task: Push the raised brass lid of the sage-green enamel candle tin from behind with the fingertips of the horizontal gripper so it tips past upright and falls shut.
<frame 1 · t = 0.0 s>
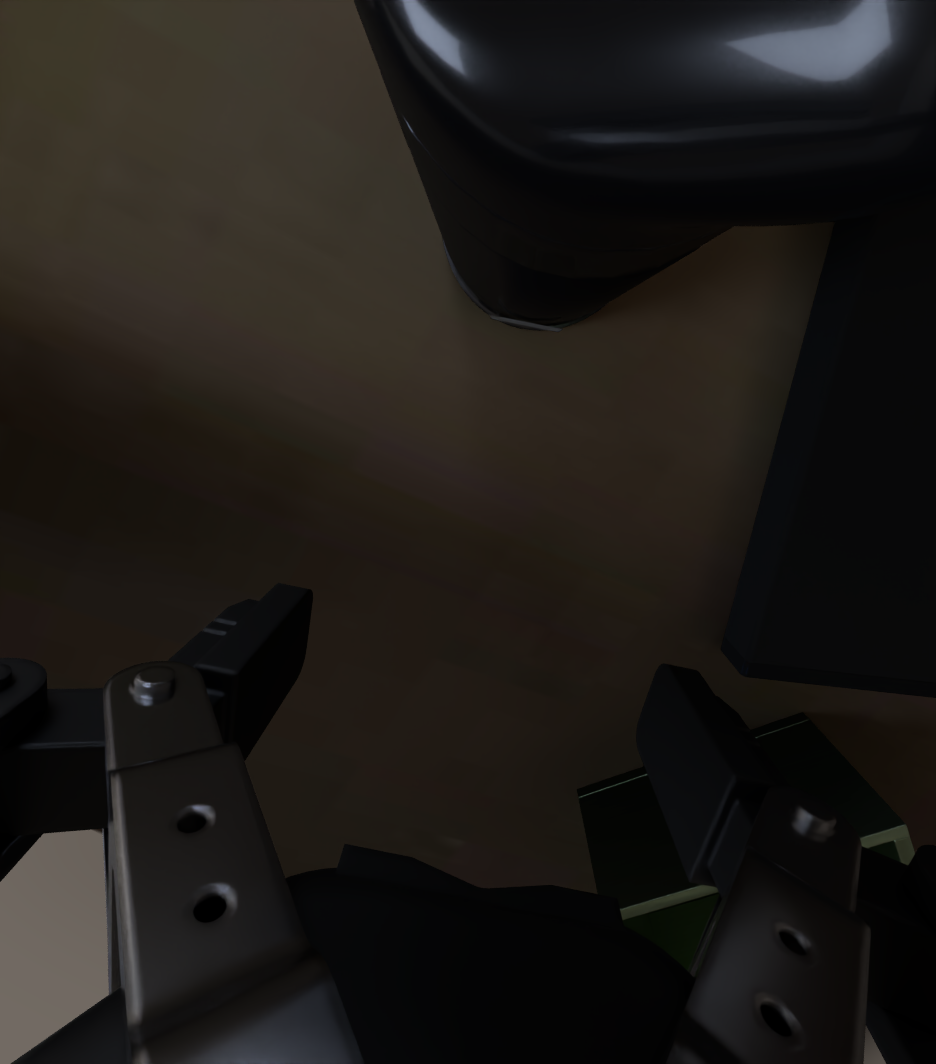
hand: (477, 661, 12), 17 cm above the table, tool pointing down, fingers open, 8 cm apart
external hard drive: (908, 462, 27), on the table
candle tin: (714, 820, 34), on the table
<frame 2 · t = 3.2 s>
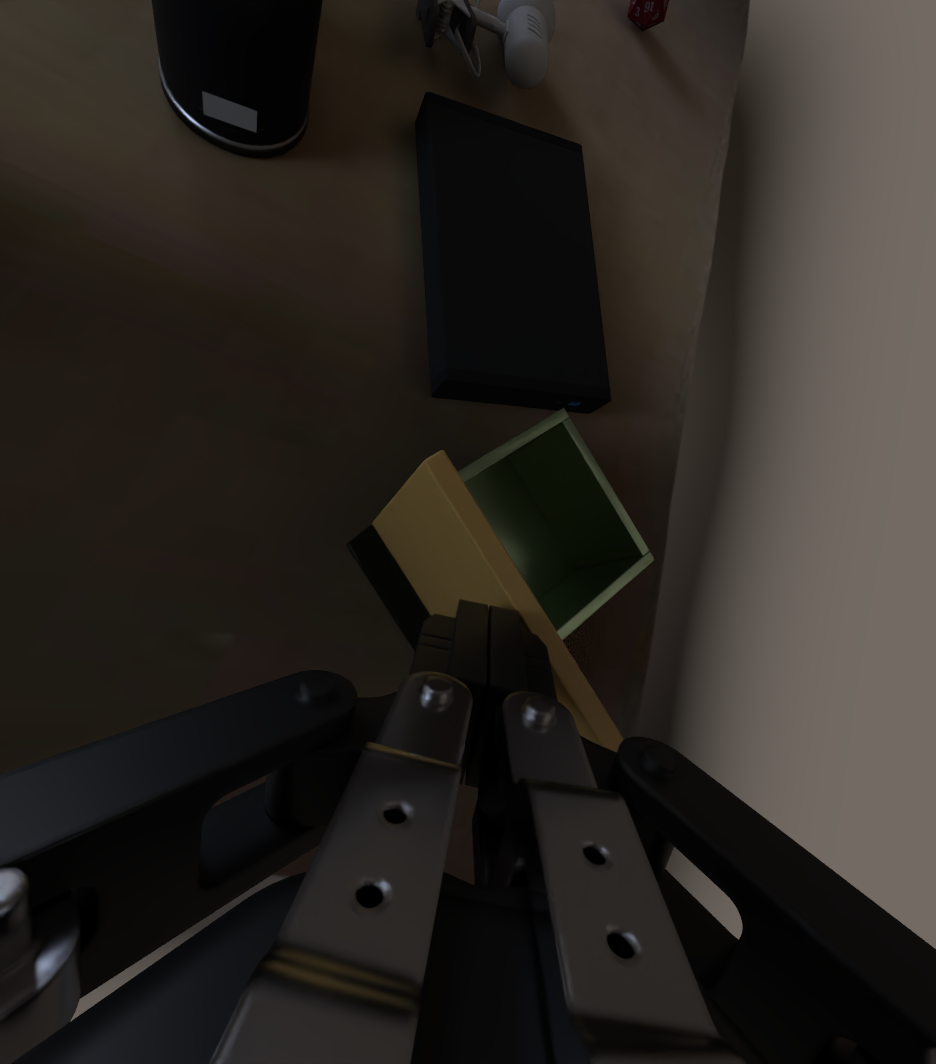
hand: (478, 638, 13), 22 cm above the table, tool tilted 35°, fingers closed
clip-on lamp: (477, 28, 47), on the table
external hard drive: (503, 274, 44), on the table
tin lid: (475, 626, 20), point 16 cm above the table, hinge at 100.0°, touching gripper
dice: (634, 25, 56), on the table
candle tin: (474, 559, 38), on the table
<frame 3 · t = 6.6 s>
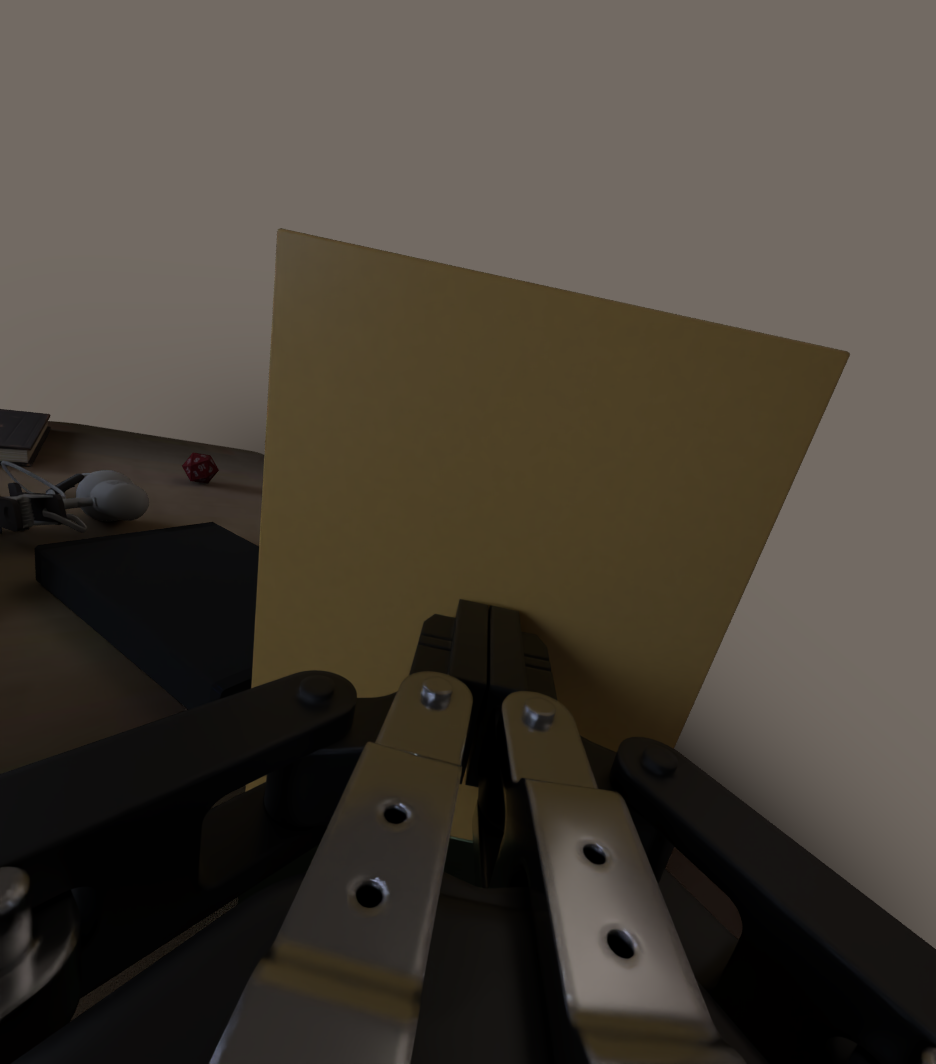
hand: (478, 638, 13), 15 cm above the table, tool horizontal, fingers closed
clip-on lamp: (65, 522, 52), on the table
external hard drive: (214, 620, 40), on the table
tin lid: (486, 613, 13), point 16 cm above the table, hinge at 94.8°, touching gripper
dice: (199, 483, 72), on the table
candle tin: (417, 840, 25), on the table
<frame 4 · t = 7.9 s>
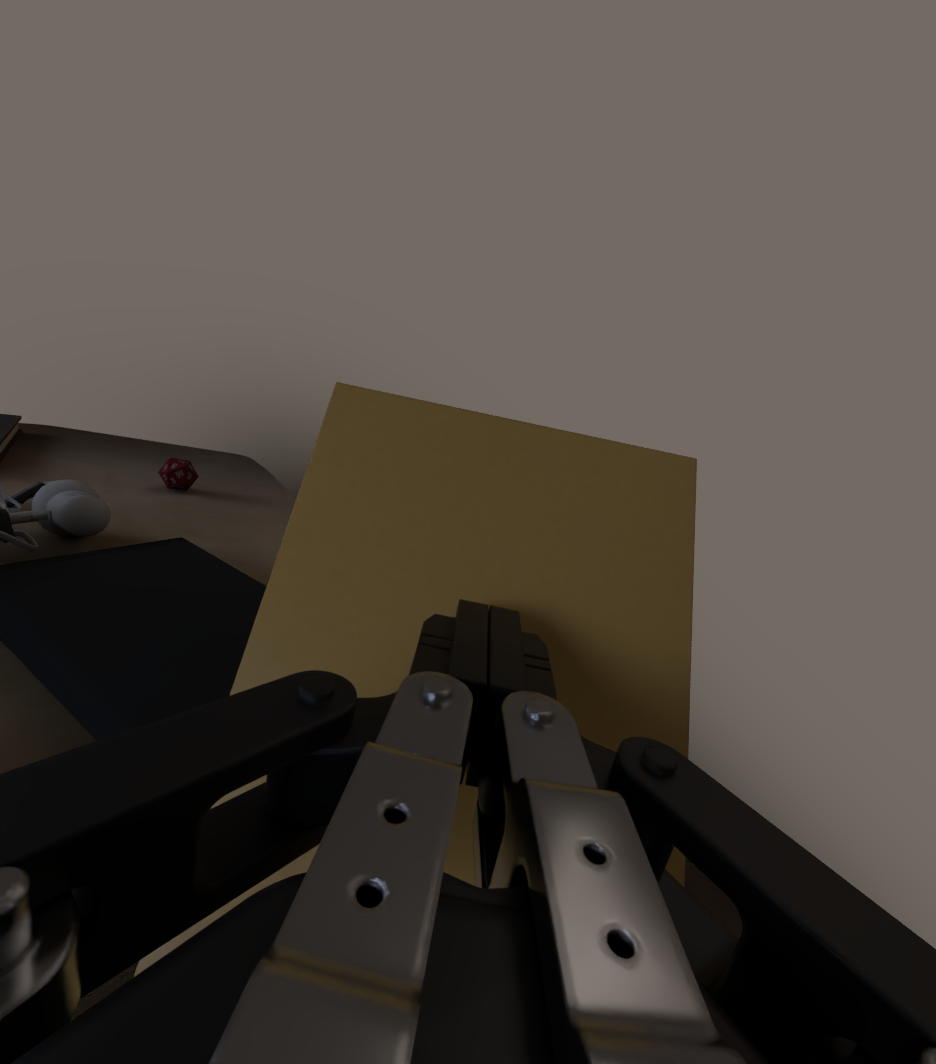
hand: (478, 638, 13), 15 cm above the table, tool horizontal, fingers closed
clip-on lamp: (19, 537, 47), on the table
external hard drive: (175, 653, 35), on the table
tin lid: (472, 665, 14), point 14 cm above the table, hinge at 51.6°
dice: (177, 491, 67), on the table
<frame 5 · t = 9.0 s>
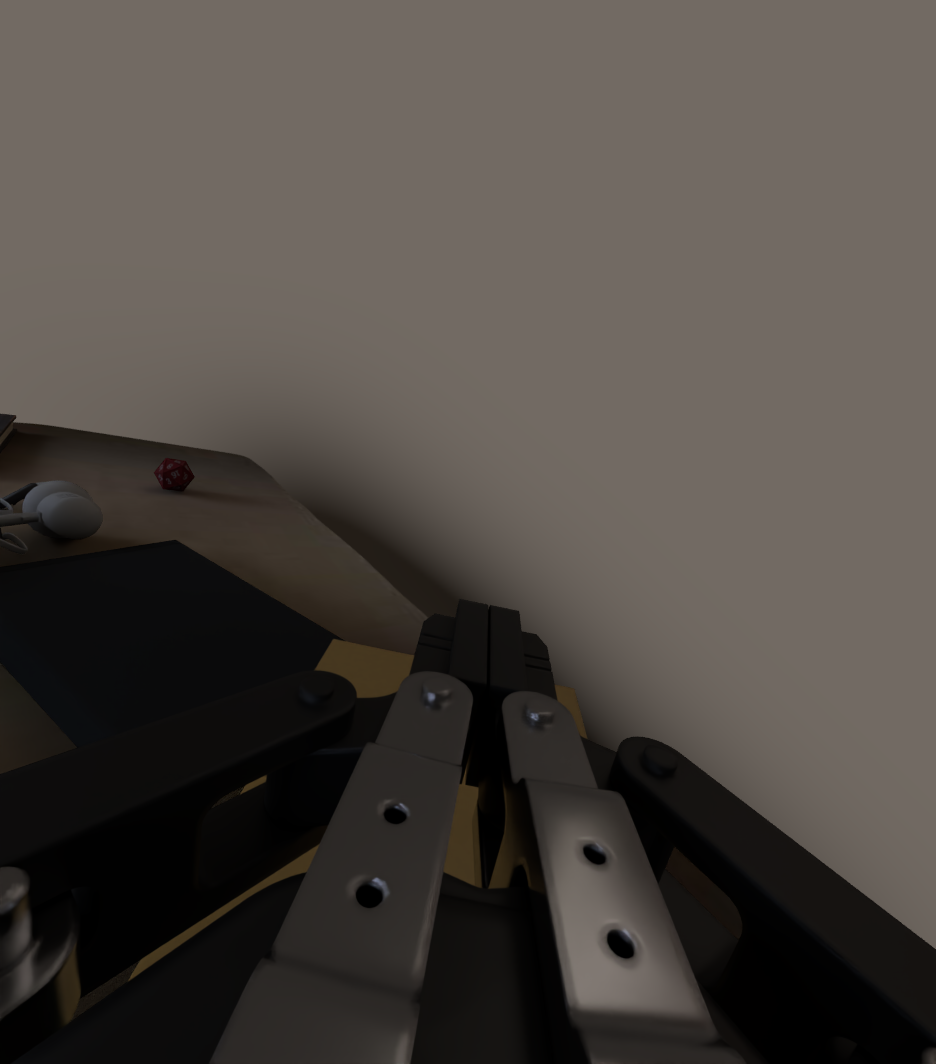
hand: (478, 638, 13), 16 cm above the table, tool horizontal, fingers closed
clip-on lamp: (10, 539, 46), on the table
external hard drive: (166, 660, 35), on the table
tin lid: (436, 791, 17), point 9 cm above the table, hinge at -0.2°
dice: (173, 491, 66), on the table
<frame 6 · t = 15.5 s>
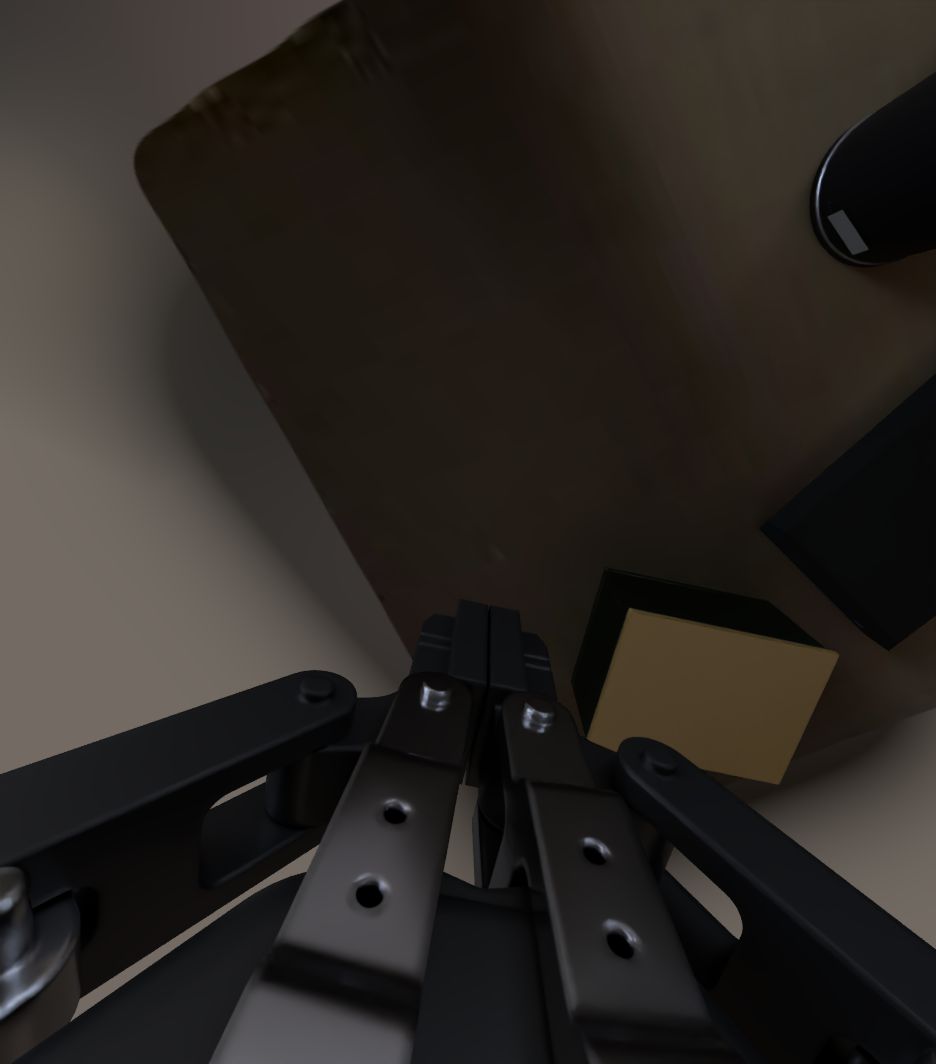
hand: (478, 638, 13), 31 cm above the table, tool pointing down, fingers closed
external hard drive: (931, 483, 42), on the table
tin lid: (707, 700, 39), point 9 cm above the table, hinge at -0.2°
candle tin: (666, 642, 47), on the table
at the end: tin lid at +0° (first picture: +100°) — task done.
